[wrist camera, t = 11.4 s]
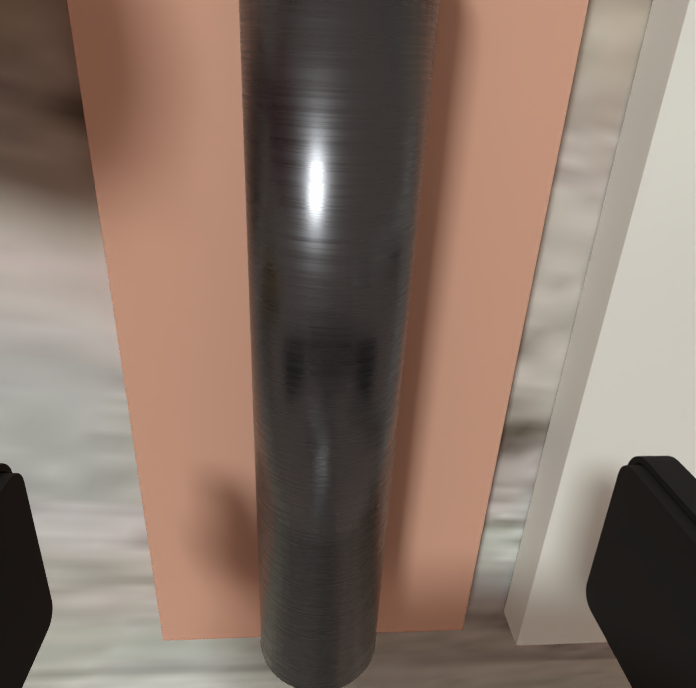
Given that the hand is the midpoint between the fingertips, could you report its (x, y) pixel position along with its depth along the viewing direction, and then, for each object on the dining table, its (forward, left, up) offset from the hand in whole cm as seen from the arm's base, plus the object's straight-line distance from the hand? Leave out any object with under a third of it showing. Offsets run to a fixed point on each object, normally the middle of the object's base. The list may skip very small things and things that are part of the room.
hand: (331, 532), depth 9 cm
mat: (+1, 0, -5) cm, 5 cm away
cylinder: (+1, 0, -3) cm, 3 cm away
